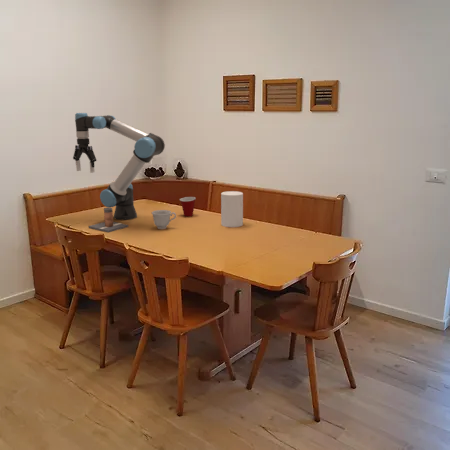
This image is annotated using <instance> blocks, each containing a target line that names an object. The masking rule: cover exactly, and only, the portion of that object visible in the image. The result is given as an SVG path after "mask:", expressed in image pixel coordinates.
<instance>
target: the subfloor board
mask: <svg viewBox="0 0 450 450" xmlns="http://www.w3.org/2000/svg"><path fill="white" fill-rule="evenodd" d="M126 228H129V224H126V223H121V222H117V221H113V226H112V227H105V221H104V222H99V223H95V224H91V225H88V229H92V230H95V231H101V232H104V233H111V232H115V231H118V230H122V229H126Z"/></svg>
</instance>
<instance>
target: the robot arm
mask: <svg viewBox="0 0 450 450" xmlns="http://www.w3.org/2000/svg"><path fill="white" fill-rule="evenodd" d="M74 122H75V129H76V130H75V131H76V132H75V133H76V144H75V148H74V151H73V157H72V159H73V160H74V161H75V166H76V167H75V168H76V172H79V171H80V172H81V171H82V168H81V167H82V166H81V157H82V155H83V154H85V155H86V156H87V158H88V160H89V173H90V174H91V173H92V174H93V173H95V162H97V161H98V160H97V158H96V155H95V152H94V149H93V146H92V145H90V138H89V137H90V134H89V133H90V132H89V130H90V129H93V130H96V129H97V130H102V129H108V130H110V131H113V132H114V133H117V134H119V135H122V136H124V137H125V138H128V139H130V140H133V141H135V143H134V149H133V151H132V153H133V155H132V157H131V158H130V159H129V161H128V162H127V163H126V165H125V166H124V168H123V169H122V171H121V172H120V174H119V175H118V176H117V178H116V179H115V181H112V182H110V184H109V185H108V186H107V188H106V189H103V190H101V192H100V194H99V199H100V202H101V204H102V205H104V207H105V208H114V207H115V209H114V212H113V220H114V219H115V220H118V221H126V220H133V219H136V218H137V217H138V214H137V211H136V208H135V206H134V204H135V201H134V188H133V187H134V186H133V184H132V182H133V181H134V180H135V178H136V177H137V176H138V174H139V173H140V172H141V170H142V169H143V167H144V166H145V164H149V163H150V162H151V161H152V159H154V157H155V156H157V155H158V156H159V155H160V154H162V153H163V152H164V150H165V146H166V144H165V141H164V140H163V138H162V137H160V136H158V135H156V134H154V133H152V132H146V131H143V130H141V129H139V128H136V127H134V126H133V125H130V124H129V123H125V122H123V121H120V120H118V119H116V117H115V116H114V115H109V114H108V115H96V116H95V115H94V116H93V115H92V116H90V115H88V113H87V112H76V113H75V114H74Z"/></svg>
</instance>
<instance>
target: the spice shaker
mask: <svg viewBox="0 0 450 450" xmlns="http://www.w3.org/2000/svg"><path fill="white" fill-rule="evenodd" d="M103 216H104V222H105V227H112V226H113V222H114V212H113V207H104V208H103Z"/></svg>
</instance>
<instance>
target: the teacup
mask: <svg viewBox="0 0 450 450" xmlns="http://www.w3.org/2000/svg"><path fill="white" fill-rule="evenodd" d="M151 214H152V217H153V222H154V223H153V224H154V225H155V226H156V227H157V229H158V230H165V229H167V228H168V226H169V224H170V222H171V221H174V220H176V219H177V214H176V212H172V211H171V210H169V209H168V210H167V209H157V210H153V211H151ZM173 215H174V217H173V218H171V217H172V216H173Z"/></svg>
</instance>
